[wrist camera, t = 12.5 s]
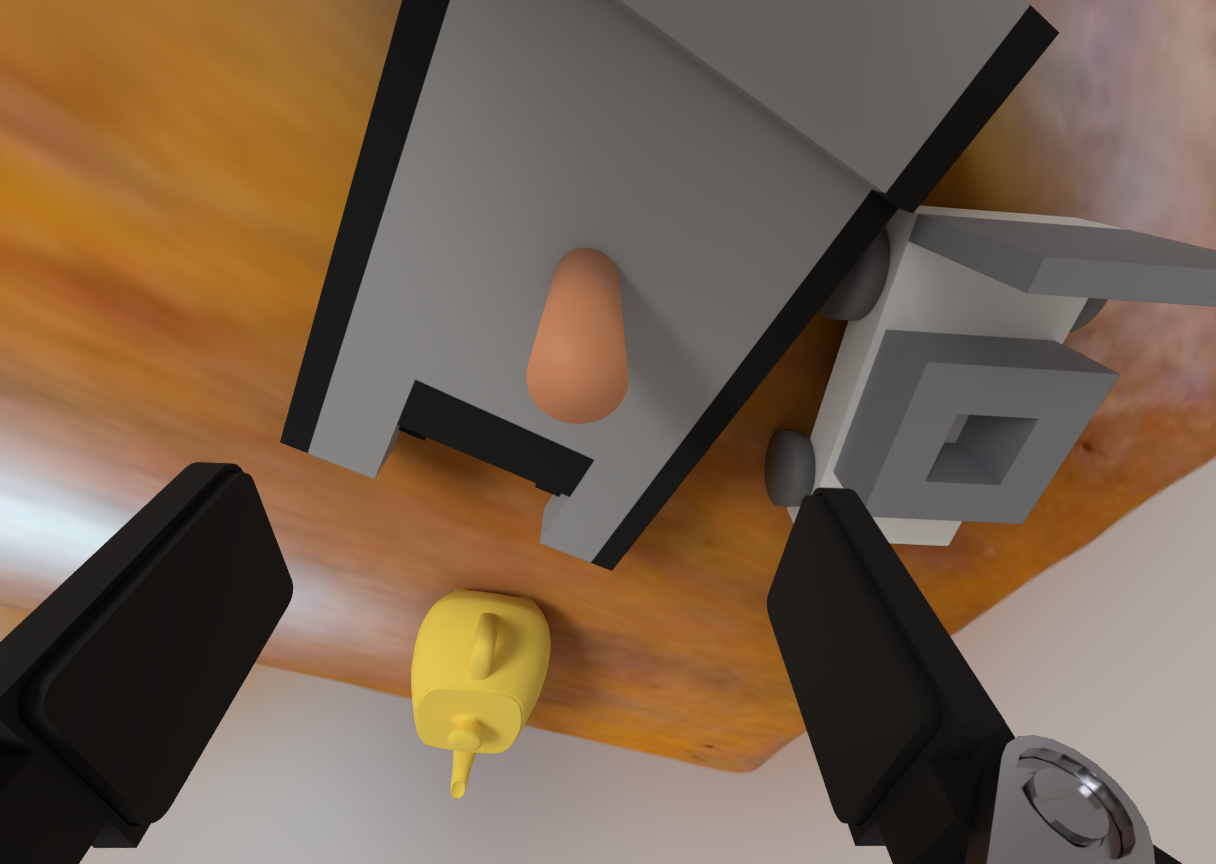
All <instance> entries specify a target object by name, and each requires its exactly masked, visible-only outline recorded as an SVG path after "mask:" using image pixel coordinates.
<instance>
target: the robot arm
mask: <svg viewBox="0 0 1216 864" xmlns="http://www.w3.org/2000/svg"><path fill="white" fill-rule="evenodd" d="M292 594H293V583H292V579H291V577H290V574H289V572H288V569H287V566H286V564H285V561H284V559H283V556H282V553H281V551H280V548H279V546H278V543H277V540H276V538H275V535H274V533H273V530H272V527H271V525H270V522H269V520H268V517H267V514H266V512H265V509H264V507H263V504H262V501H261V499H260V496H259V494H258V491H257V488H256V486H255V483H254V481H253V479H252V477H251V476H250V475H249V474H247V473H244V472H243V471H242V469H241V468H240V467H239V466H238V465H236V464H230V463H206V462H196V463H192V464H190V465H189V466H187V467H186V468H185V469H184V470H183V471H182V472H181V473H179V474H178V475H177V476H176V477H175V478H174V479H173V480H172V481H171V482H170V483H169V484H168V485H167V486H166V487H165V488H164V489H162V490H161V491H160V492H159V493H158V494H157V495H156V496H155V497H154V498H153V499H152V500H151V501H150V502H149V503H148V504H147V505H145V506H144V507H143V508H142V509H141V510H140V511H139V512H138V513H137V514H136V515H135V516H134V517H133V518H132V519H131V520H129V521H128V522H127V523H126V524H125V525H124V526H123V527H122V528H121V529H120V530H119V531H118V532H117V533H116V534H115V535H114V536H112V537H111V538H110V539H109V540H108V541H107V542H106V543H105V544H104V545H103V546H102V547H101V548H100V549H99V550H98V551H97V552H95V553H94V554H93V555H92V556H91V557H90V558H89V559H88V560H87V561H86V562H85V563H84V564H83V565H82V566H81V567H80V568H78V569H77V570H76V571H75V572H74V573H73V574H72V575H71V576H70V577H69V578H68V579H67V580H66V581H65V582H64V583H63V584H61V585H60V586H59V587H58V588H57V589H56V590H55V591H54V592H53V593H52V594H51V595H50V596H49V597H48V598H47V599H46V600H44V601H43V602H42V603H41V604H40V605H39V606H38V607H37V608H36V609H35V610H34V611H33V612H32V613H31V614H30V615H29V616H27V617H26V618H25V619H24V620H23V621H22V622H21V623H20V624H19V625H18V626H17V627H16V628H15V629H14V630H13V631H12V632H11V633H10V634H8V635H7V636H6V637H5V638H4V639H3V640H2V641H1V642H0V864H79V863H80V861H81V860H82V858H83V857H84V855H85V854H86V852H87V851H88V849H89V848H90V846H93V847H94V848H136V847H137V846H138V844H139V843H140V841H141V839H142V837H143V836H144V834H145V833H146V831H147V829H148V828H149V826H150V824H151V823H154V822H156V821H158V820H159V819H161V818H162V817H163V816H164V814H166V812H167V811H168V810H169V808H170V807H171V805H172V803H173V802H174V800H175V799H176V796H177V795H178V793H179V792H180V790H181V788H182V787H183V785H184V783H185V781H186V780H187V778H188V776H189V775H190V773H191V771H192V769H193V768H194V766H195V764H196V762H197V761H198V759H199V757H200V756H201V754H202V752H203V750H204V749H205V747H206V745H207V744H208V742H209V740H210V739H211V737H212V735H213V733H214V732H215V730H216V728H217V727H218V725H219V723H220V721H221V720H222V718H223V716H224V715H225V713H226V711H227V709H228V708H229V706H230V704H231V703H232V701H233V699H234V697H235V696H236V694H237V692H238V691H239V689H240V687H241V686H242V683H243V682H244V680H245V679H246V677H247V675H248V674H249V672H250V670H251V668H252V667H253V665H254V663H255V662H256V660H257V658H258V656H259V655H260V653H261V651H262V650H263V648H264V646H265V644H266V643H267V641H268V639H269V638H270V636H271V634H272V632H273V631H274V629H275V627H276V626H277V624H278V622H279V620H280V619H281V617H282V615H283V614H284V612H285V610H286V608H287V607H288V605H289V603H290V601H291V598H292ZM767 610H768V615H769V618H770V621H771V624H772V627H773V630H774V633H775V636H776V639H777V642H778V645H779V648H780V651H781V654H782V657H783V660H784V663H785V666H786V669H787V672H788V675H789V678H790V681H791V684H792V687H793V690H794V693H795V696H796V699H797V702H798V705H799V708H800V711H801V714H802V717H803V720H804V723H805V726H806V729H807V732H808V735H809V738H810V741H811V744H812V747H813V750H814V753H815V756H816V759H817V762H818V765H819V768H820V771H821V774H822V777H823V780H824V783H825V786H826V789H827V792H828V795H829V798H830V801H831V804H832V807H833V810H834V812H835V814H836V816H837V818H838V819H839V820H840V821H841V822H842V823H848V825H849V829H850V831H851V834H852V837H853V840H854V843H855V846H886V847H887V850H888V853H889V855H890V857H891V860H892V863H893V864H1182V863H1180V862H1179V861H1177V860H1176V859H1174V858H1173V857H1171V856H1170V855H1168V854H1167V853H1165V852H1164V851H1162V850H1161V849H1159V848H1158V847H1156V846H1155V845H1153V844H1152V840H1151V837H1150V833H1149V829H1148V826H1147V825H1146V823H1145V821H1144V819H1143V818H1142V816H1141V814H1140V812H1139V810H1138V809H1137V807H1136V805H1135V804H1134V802H1133V801H1132V800H1131V799H1130V798H1129V796H1128V795H1127V794H1126V793H1125V792H1124V790H1123V789H1122V788H1121V787H1120V786H1119V784H1118V783H1117V782H1116V781H1115V780H1114V779H1112V778H1111V777H1110V776H1109V775H1108V774H1107V773H1106V772H1105V771H1104V770H1102V769H1101V768H1100V767H1099V766H1098V765H1097V764H1095V763H1094V762H1093V761H1091V760H1090V759H1088V758H1087V757H1085V756H1084V755H1082V754H1080V753H1079V752H1078V751H1076V750H1075V749H1073V748H1070V747H1068V746H1066V745H1064V744H1062V743H1060V742H1057V741H1055V740H1053V739H1048V738H1044V737H1040V736H1035V735H1030V736H1018V737H1017V738H1015V737H1014V735H1013V734H1012V732H1011V730H1010V729H1009V727H1008V726H1007V724H1006V723H1005V720H1004V719H1003V717H1002V716H1001V714H1000V713H999V711H998V710H997V708H996V707H995V705H994V703H993V702H992V700H991V699H990V698H989V696H988V694H987V693H986V691H985V690H984V688H983V687H982V685H981V684H980V682H979V680H978V679H977V677H976V676H975V674H974V673H973V671H972V670H971V668H970V667H969V665H968V663H967V662H966V661H965V659H964V657H963V656H962V654H961V653H960V651H959V650H958V648H957V647H956V645H955V643H954V642H953V640H952V639H951V637H950V636H949V634H948V633H947V631H946V630H945V628H944V627H943V625H942V623H941V622H940V620H939V619H938V617H937V616H936V614H935V613H934V611H933V610H932V608H931V607H930V605H929V603H928V602H927V600H926V599H925V597H924V596H923V594H922V593H921V591H920V590H919V588H918V587H917V585H916V583H915V582H914V580H913V579H912V577H911V576H910V574H909V573H908V571H907V570H906V568H905V567H904V565H903V563H902V562H901V560H900V559H899V557H898V556H897V554H896V553H895V551H894V550H893V548H892V547H891V545H890V543H889V542H888V540H887V539H886V537H885V536H884V534H883V533H882V531H881V530H880V528H879V527H878V525H877V523H876V522H875V520H874V519H873V517H872V516H871V514H870V513H869V511H868V510H867V508H866V507H865V505H864V503H863V502H862V500H861V499H860V497H859V496H858V494H857V493H856V492H855V491H854V490H852V489H849V488H824V487H820V488H816V489H815V490H814V492H813V494H812V495H807V496H805V497H804V498H803V500H802V503H801V505H800V508H799V511H798V514H797V516H796V519H795V522H794V525H793V527H792V530H791V533H790V536H789V538H788V541H787V544H786V547H785V549H784V552H783V555H782V558H781V561H780V563H779V566H778V569H777V572H776V574H775V577H774V580H773V583H772V585H771V588H770V591H769V594H768V598H767Z"/></svg>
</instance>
